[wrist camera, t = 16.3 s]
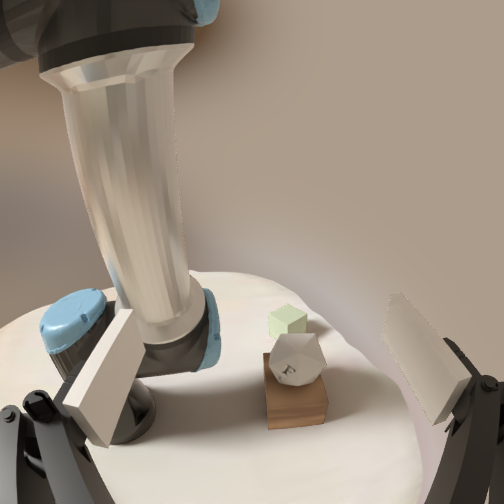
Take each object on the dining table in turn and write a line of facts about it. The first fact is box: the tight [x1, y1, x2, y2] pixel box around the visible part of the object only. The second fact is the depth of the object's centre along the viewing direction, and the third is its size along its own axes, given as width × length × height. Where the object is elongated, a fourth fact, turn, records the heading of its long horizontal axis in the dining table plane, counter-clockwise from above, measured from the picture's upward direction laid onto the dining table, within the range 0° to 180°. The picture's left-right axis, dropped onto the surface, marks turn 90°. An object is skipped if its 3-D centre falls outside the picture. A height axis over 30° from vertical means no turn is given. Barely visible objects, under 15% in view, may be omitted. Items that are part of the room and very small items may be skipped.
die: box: [269, 333, 327, 386], centre depth 41 cm, size 8×9×10 cm
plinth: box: [263, 353, 328, 430], centre depth 44 cm, size 13×9×6 cm
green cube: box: [269, 304, 307, 340], centre depth 62 cm, size 6×6×6 cm
